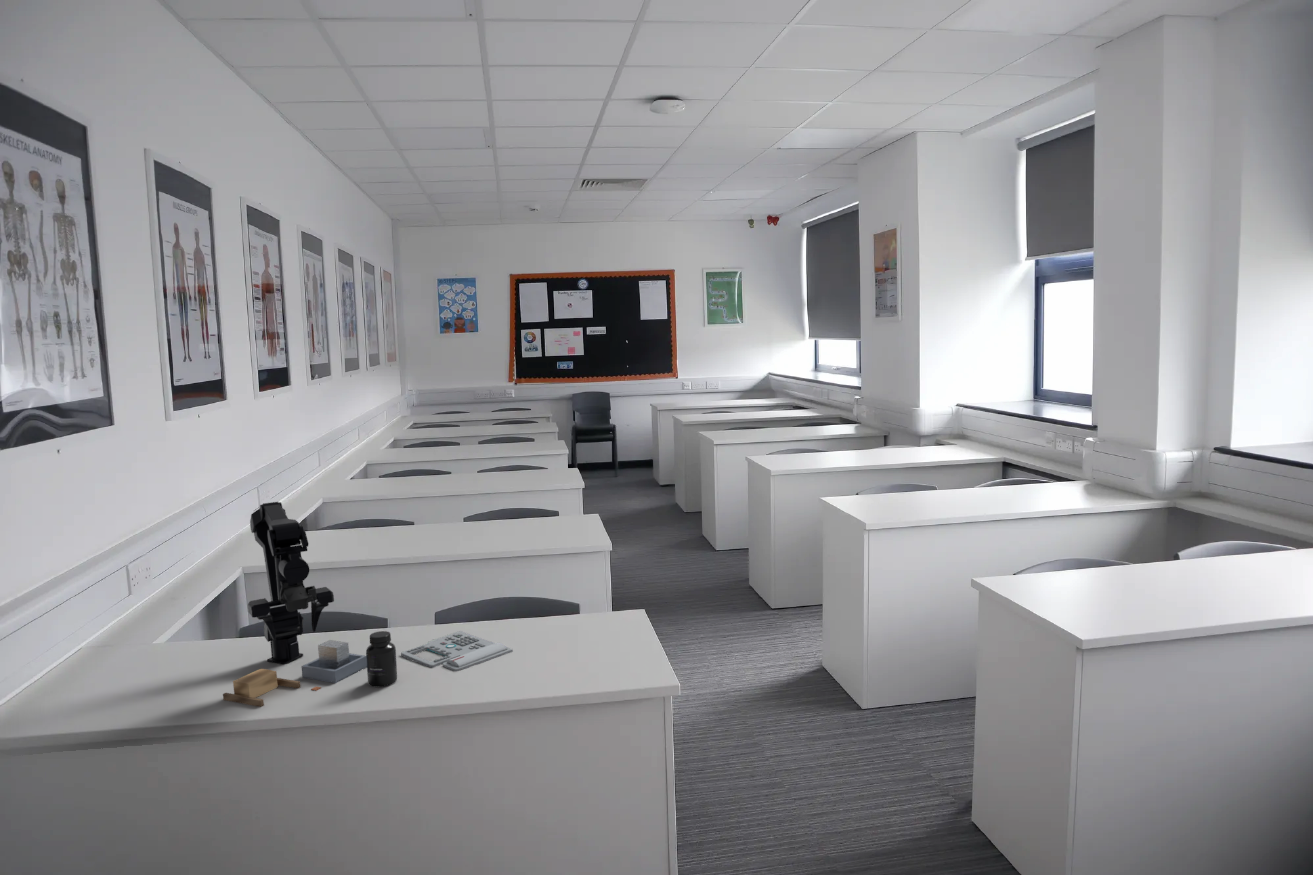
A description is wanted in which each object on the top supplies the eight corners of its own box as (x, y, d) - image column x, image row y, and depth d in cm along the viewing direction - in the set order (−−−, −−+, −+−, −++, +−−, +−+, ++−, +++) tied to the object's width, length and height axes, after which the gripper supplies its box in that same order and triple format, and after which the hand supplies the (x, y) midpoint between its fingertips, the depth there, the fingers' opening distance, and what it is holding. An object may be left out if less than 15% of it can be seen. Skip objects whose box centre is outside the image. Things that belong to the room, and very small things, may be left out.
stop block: (320, 672, 213) (317, 645, 212) (332, 666, 217) (329, 639, 216) (338, 675, 211) (336, 647, 210) (350, 669, 214) (348, 642, 213)
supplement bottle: (370, 690, 202) (366, 641, 200) (366, 680, 208) (362, 632, 206) (400, 683, 205) (396, 635, 204) (395, 674, 211) (391, 627, 210)
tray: (302, 677, 211) (301, 666, 211) (334, 662, 221) (333, 650, 220) (336, 683, 207) (335, 671, 206) (367, 667, 216) (366, 655, 216)
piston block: (234, 697, 200) (233, 681, 200) (262, 684, 207) (261, 668, 207) (250, 700, 198) (248, 683, 198) (277, 687, 205) (276, 671, 205)
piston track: (223, 700, 199) (222, 693, 199) (268, 679, 211) (267, 673, 211) (278, 710, 192) (277, 704, 192) (321, 688, 204) (320, 682, 204)
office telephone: (513, 644, 224) (450, 667, 209) (514, 653, 224) (450, 677, 209) (459, 625, 239) (397, 646, 224) (460, 635, 240) (397, 656, 225)
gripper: (253, 588, 196) (259, 654, 198) (337, 573, 206) (342, 635, 208) (244, 578, 205) (250, 640, 207) (325, 564, 216) (330, 624, 217)
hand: (294, 635), depth 210 cm, fingers open, 9 cm apart
